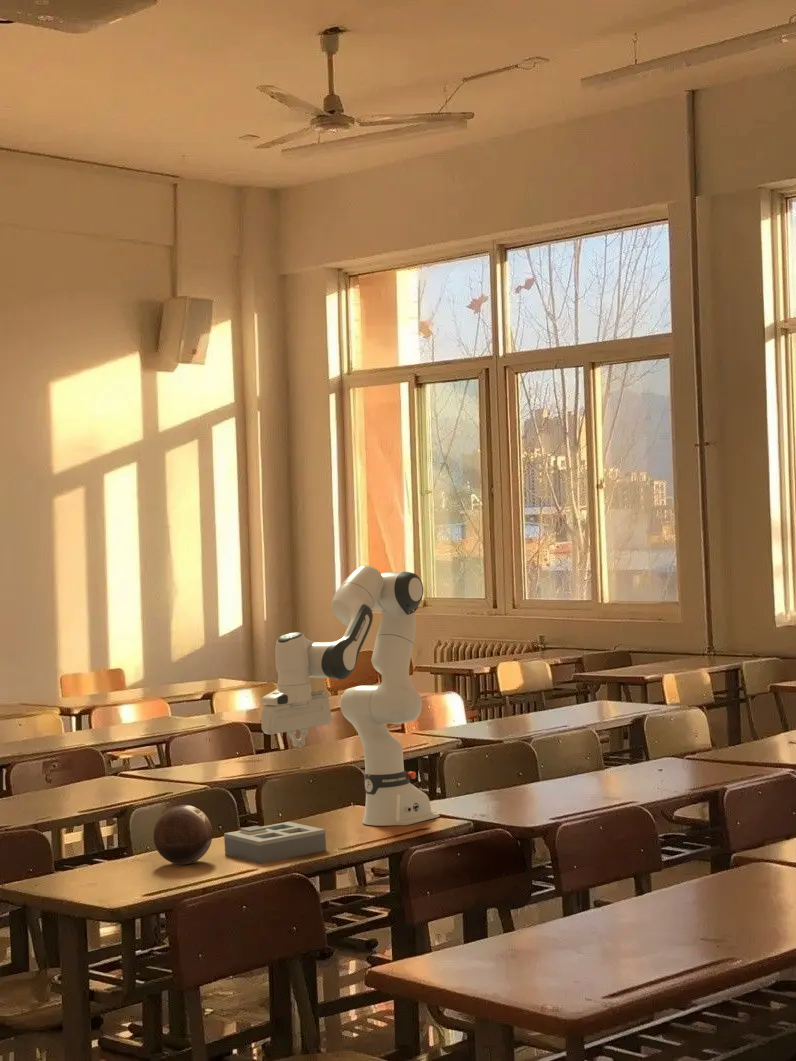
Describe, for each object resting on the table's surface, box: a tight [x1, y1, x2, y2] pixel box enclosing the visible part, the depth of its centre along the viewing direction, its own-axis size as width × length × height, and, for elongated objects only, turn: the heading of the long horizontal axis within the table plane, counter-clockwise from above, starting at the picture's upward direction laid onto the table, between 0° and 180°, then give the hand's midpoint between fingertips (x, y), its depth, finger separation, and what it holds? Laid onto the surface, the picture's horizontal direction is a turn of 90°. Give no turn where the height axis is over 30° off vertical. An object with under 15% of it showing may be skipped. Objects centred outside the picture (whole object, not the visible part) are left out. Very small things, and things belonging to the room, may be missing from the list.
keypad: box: [223, 821, 327, 864], centre depth 393 cm, size 20×18×6 cm
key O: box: [239, 825, 266, 835], centre depth 394 cm, size 5×5×3 cm
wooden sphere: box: [152, 804, 213, 865], centre depth 385 cm, size 15×15×15 cm
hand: (299, 746), depth 398 cm, fingers closed
